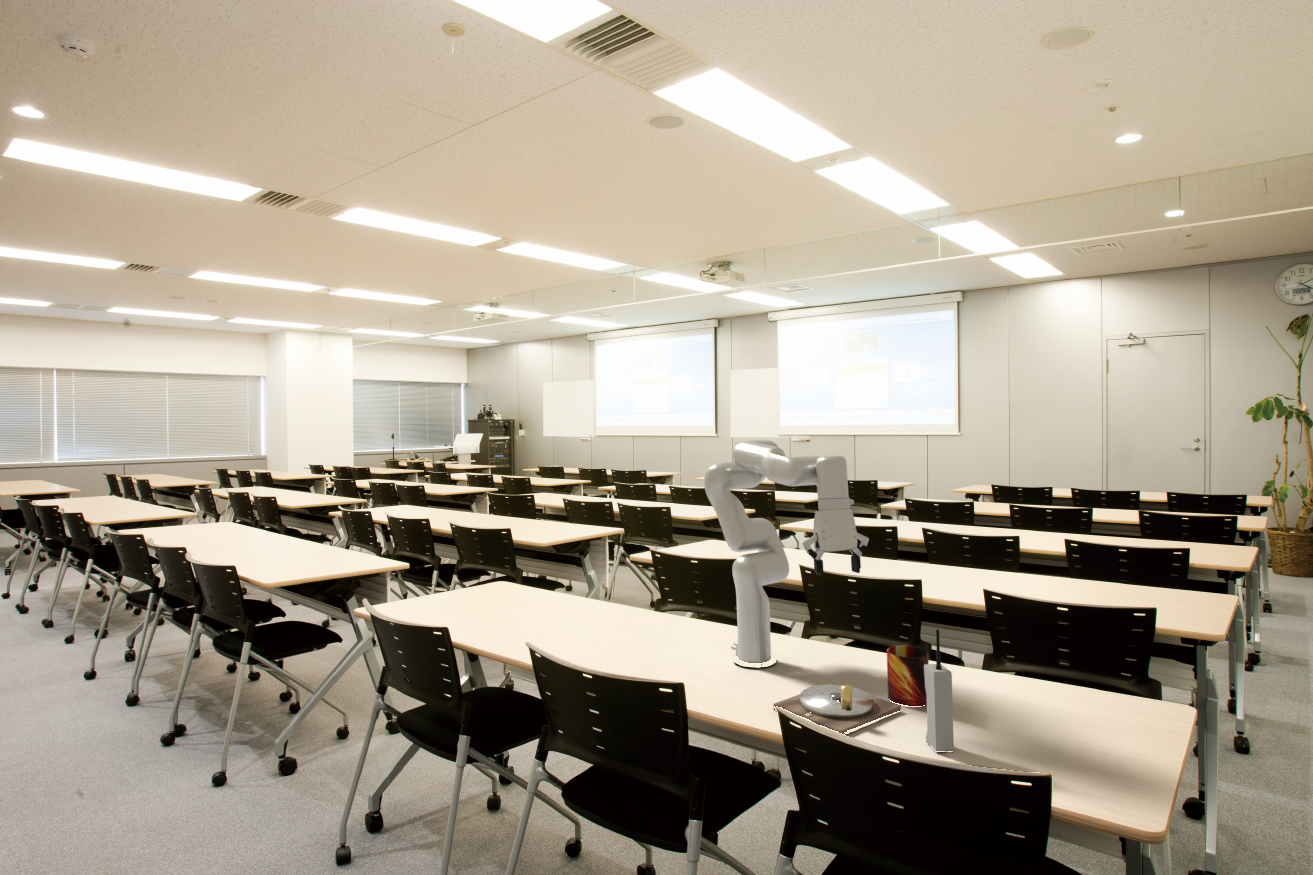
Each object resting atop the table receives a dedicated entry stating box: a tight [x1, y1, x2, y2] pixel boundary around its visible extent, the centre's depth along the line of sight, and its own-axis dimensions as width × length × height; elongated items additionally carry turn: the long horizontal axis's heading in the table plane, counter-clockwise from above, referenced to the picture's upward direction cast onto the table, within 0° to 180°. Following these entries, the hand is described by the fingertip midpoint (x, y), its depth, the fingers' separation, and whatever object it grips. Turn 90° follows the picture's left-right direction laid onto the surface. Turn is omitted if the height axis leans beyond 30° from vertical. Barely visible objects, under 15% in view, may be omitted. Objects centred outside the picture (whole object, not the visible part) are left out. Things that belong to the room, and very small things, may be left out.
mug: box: [886, 645, 930, 707], centre depth 167 cm, size 10×14×12 cm
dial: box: [799, 683, 874, 718], centre depth 163 cm, size 17×17×6 cm
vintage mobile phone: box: [924, 628, 955, 752], centre depth 143 cm, size 4×5×25 cm
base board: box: [773, 682, 902, 736], centre depth 163 cm, size 20×22×2 cm
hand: (837, 573), depth 171 cm, fingers open, 9 cm apart
